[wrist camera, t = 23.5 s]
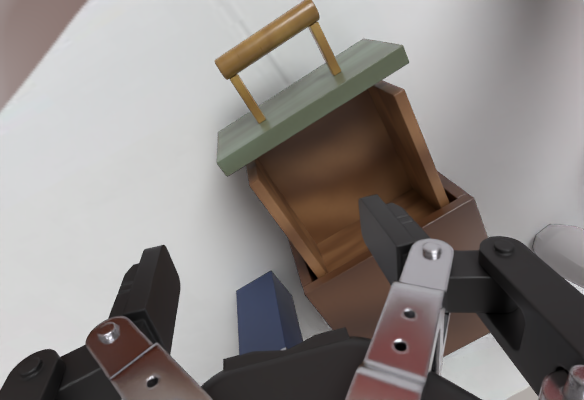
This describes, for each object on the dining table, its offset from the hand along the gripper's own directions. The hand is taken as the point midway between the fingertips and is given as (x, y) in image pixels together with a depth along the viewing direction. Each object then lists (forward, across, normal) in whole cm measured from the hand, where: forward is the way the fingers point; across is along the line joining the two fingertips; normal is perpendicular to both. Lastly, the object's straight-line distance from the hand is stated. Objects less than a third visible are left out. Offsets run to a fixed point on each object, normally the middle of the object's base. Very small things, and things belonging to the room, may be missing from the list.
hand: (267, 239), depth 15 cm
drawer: (+17, -6, +2) cm, 18 cm away
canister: (+18, +2, +19) cm, 26 cm away
